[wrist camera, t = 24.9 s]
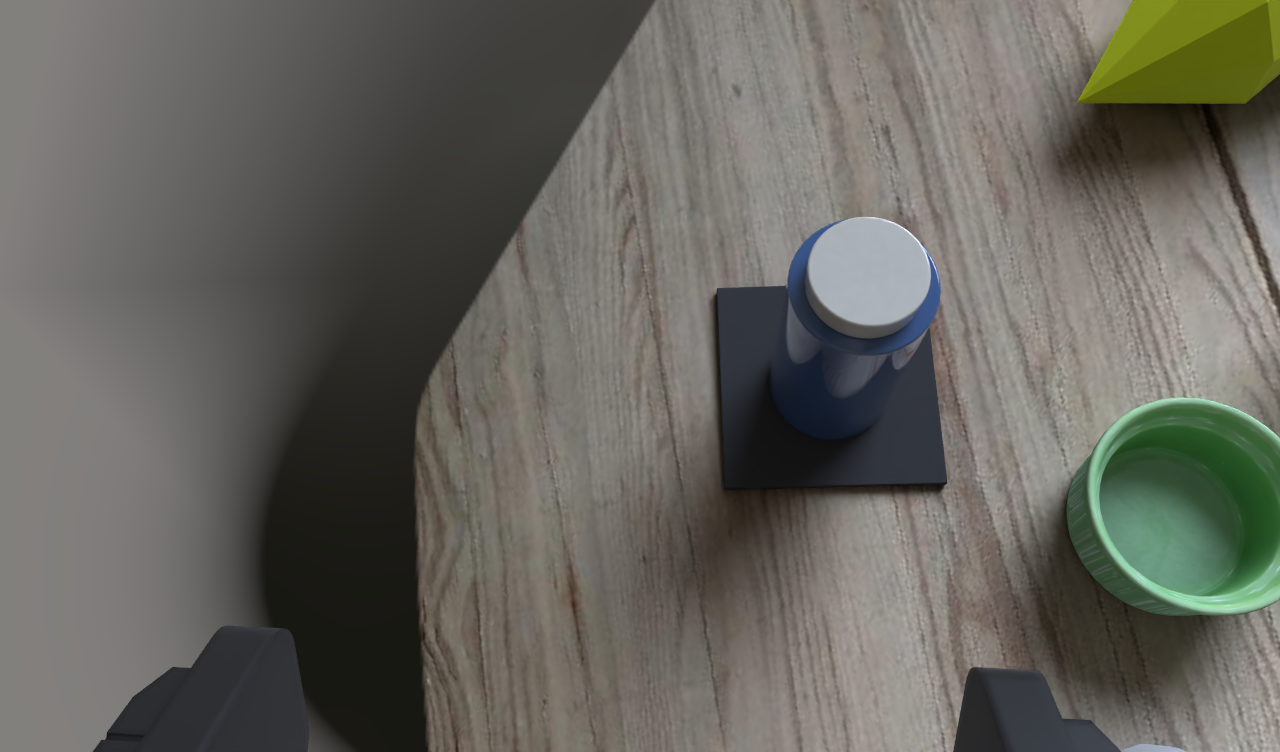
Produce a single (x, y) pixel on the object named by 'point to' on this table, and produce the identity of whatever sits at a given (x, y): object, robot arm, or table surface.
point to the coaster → (788, 458)
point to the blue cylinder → (850, 325)
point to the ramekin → (1182, 510)
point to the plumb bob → (1189, 53)
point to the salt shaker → (1151, 748)
